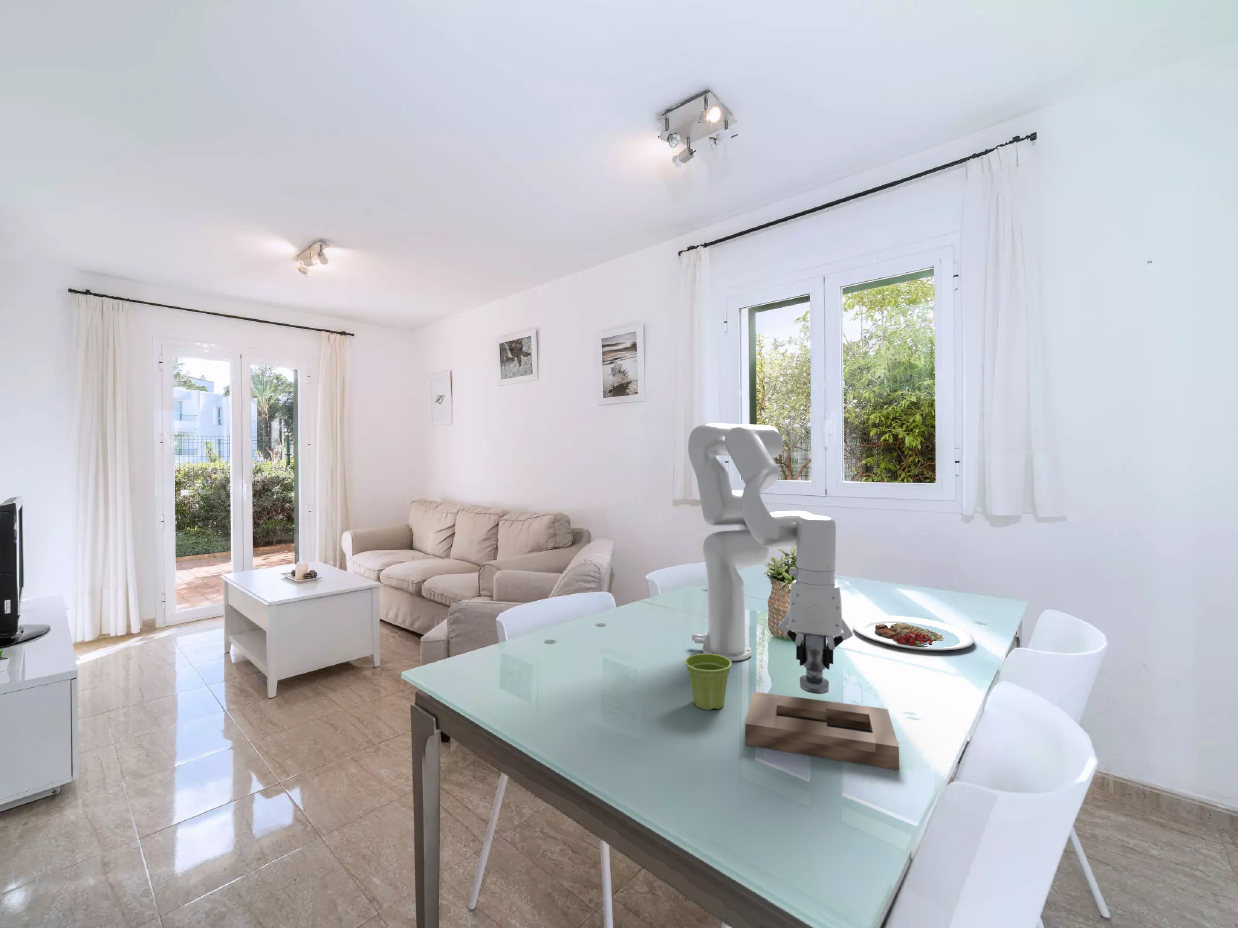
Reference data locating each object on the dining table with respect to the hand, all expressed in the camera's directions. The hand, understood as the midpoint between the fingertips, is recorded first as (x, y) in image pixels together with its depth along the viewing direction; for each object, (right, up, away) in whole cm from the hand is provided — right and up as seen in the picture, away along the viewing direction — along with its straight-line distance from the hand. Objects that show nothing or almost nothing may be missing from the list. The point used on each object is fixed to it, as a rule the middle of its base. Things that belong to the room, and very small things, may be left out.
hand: (814, 663), depth 110 cm
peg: (0, -5, 0) cm, 5 cm away
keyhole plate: (-4, -8, -14) cm, 17 cm away
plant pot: (-22, -8, 0) cm, 23 cm away
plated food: (+42, -8, +41) cm, 60 cm away
